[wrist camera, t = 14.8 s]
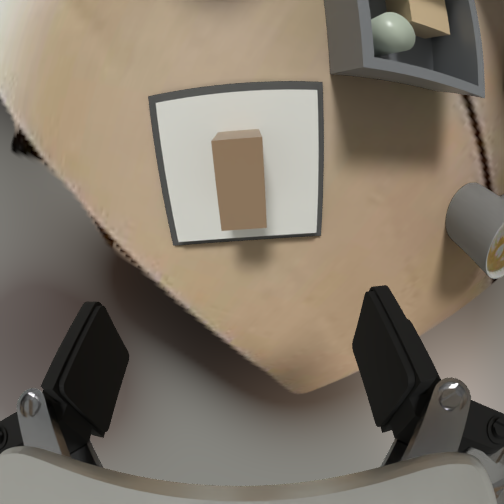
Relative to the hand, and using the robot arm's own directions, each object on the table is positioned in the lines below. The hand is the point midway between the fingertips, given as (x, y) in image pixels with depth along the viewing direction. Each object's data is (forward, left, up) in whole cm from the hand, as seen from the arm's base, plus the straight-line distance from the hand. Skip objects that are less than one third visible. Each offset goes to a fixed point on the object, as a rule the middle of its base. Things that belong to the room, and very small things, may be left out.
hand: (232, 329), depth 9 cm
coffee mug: (-35, +6, -23) cm, 42 cm away
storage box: (-17, -17, -23) cm, 33 cm away
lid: (0, 0, -23) cm, 23 cm away
